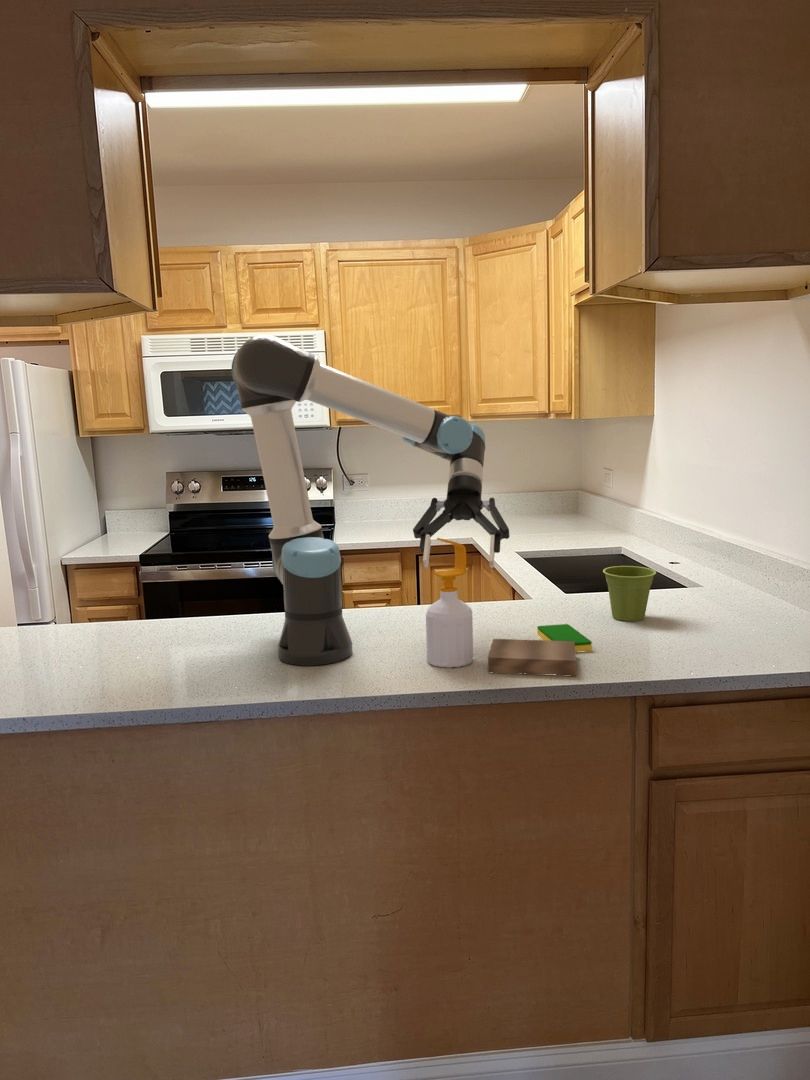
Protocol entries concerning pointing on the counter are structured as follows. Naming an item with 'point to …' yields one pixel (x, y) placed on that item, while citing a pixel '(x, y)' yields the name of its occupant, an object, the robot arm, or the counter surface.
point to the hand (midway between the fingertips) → (458, 564)
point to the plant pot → (629, 591)
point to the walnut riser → (532, 657)
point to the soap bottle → (450, 620)
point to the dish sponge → (565, 636)
